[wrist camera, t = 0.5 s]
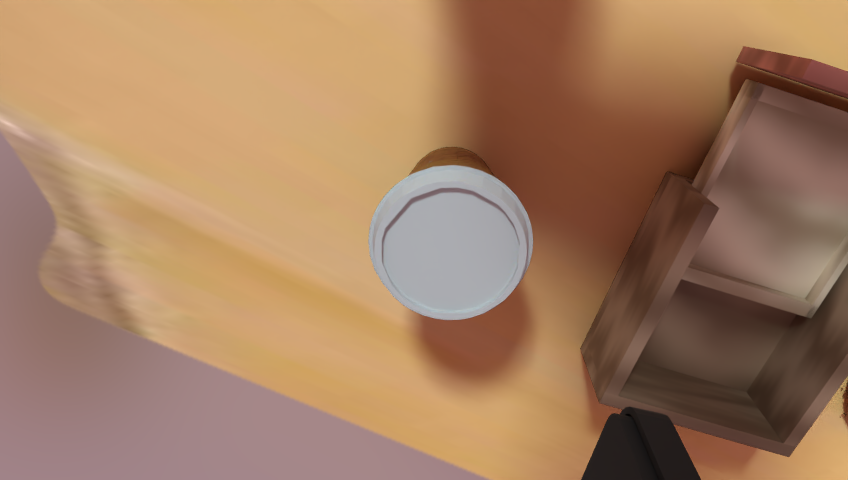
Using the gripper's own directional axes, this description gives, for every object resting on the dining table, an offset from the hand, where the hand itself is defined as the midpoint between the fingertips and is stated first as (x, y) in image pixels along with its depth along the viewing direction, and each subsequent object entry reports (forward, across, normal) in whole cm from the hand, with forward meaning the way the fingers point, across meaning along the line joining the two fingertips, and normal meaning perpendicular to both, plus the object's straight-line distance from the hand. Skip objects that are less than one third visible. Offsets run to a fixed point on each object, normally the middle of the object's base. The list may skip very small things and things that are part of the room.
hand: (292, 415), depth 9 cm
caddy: (+35, -26, +11) cm, 45 cm away
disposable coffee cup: (+35, -4, +7) cm, 36 cm away
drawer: (+34, -26, +1) cm, 43 cm away
